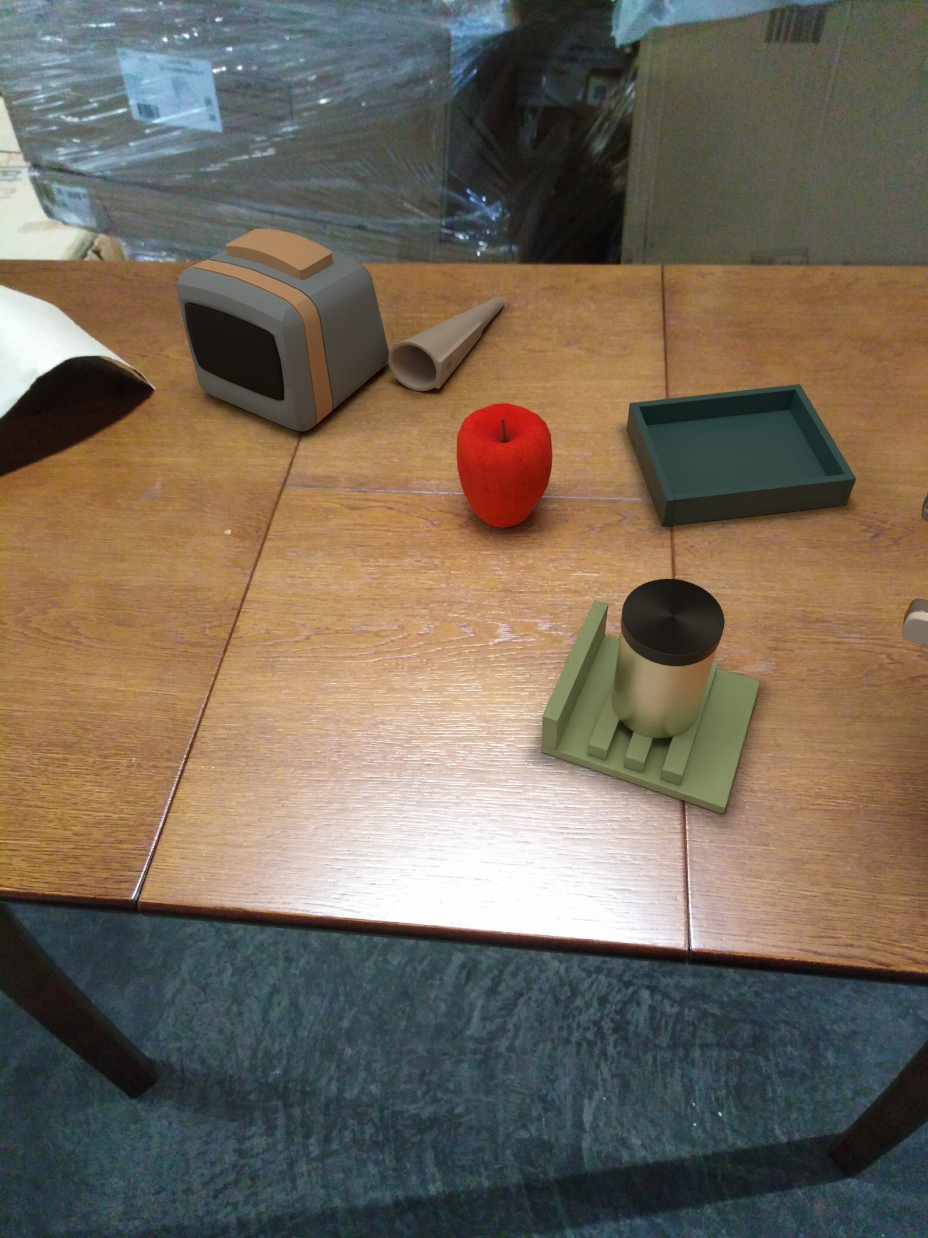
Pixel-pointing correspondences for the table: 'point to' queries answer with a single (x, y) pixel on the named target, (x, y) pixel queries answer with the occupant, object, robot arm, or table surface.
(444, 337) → the long tapered cone
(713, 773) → the drying rack
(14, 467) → the table surface
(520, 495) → the apple
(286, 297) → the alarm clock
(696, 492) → the tray
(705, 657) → the travel mug
